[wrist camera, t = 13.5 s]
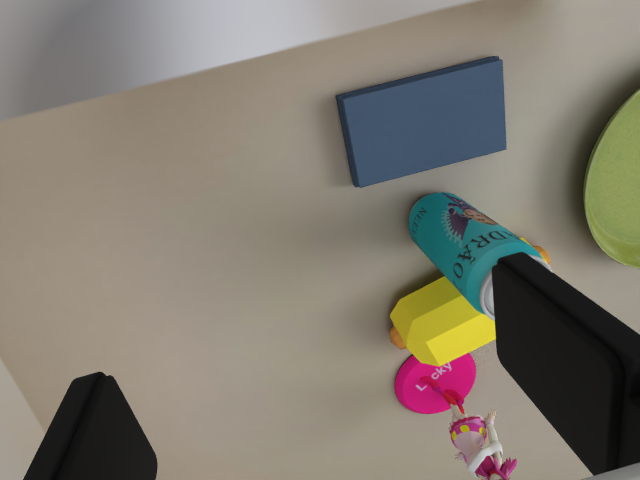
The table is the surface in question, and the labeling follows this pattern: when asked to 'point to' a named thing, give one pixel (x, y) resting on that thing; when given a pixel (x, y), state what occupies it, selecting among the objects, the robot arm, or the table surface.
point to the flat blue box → (424, 121)
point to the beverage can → (464, 245)
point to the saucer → (616, 185)
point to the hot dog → (441, 322)
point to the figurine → (454, 411)
